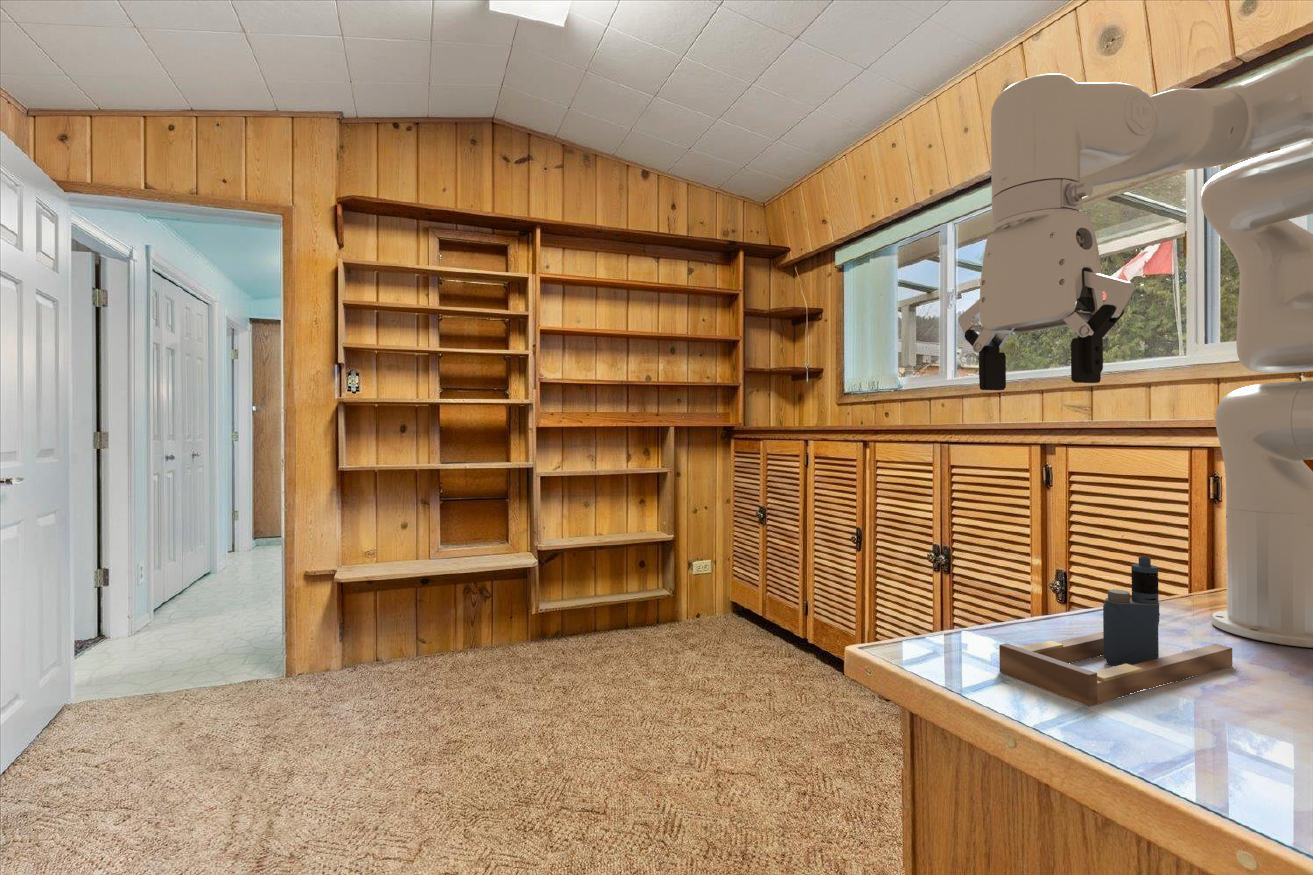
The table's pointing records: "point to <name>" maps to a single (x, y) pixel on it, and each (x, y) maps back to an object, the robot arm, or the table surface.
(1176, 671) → the rail channel
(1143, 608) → the vaping device
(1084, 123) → the robot arm
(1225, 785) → the table surface
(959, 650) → the table surface
